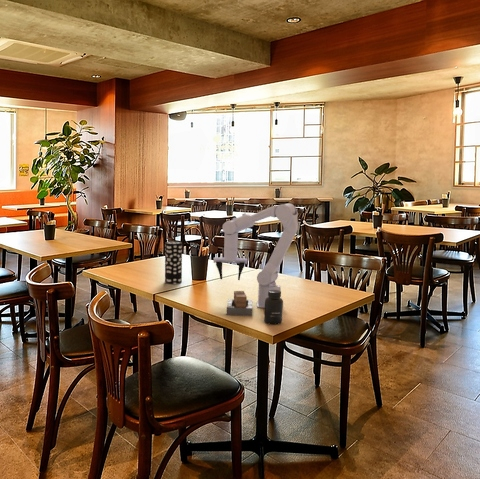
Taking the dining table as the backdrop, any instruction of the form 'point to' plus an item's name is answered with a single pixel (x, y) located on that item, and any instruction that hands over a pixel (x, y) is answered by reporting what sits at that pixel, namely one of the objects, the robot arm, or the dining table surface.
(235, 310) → the cradle
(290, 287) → the dining table surface
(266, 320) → the supplement bottle
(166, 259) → the spotted tube
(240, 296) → the walnut block
